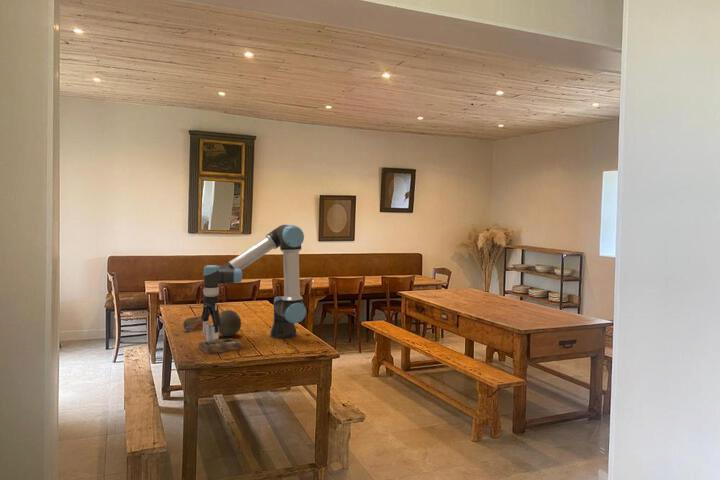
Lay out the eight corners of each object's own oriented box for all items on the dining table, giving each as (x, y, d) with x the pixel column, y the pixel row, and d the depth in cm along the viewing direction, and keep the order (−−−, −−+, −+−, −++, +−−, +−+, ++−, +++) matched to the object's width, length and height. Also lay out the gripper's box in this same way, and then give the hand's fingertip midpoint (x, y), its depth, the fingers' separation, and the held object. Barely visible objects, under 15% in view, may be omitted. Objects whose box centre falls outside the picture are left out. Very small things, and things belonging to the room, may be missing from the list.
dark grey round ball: (218, 333, 304) (218, 308, 304) (242, 333, 305) (243, 308, 304) (212, 339, 290) (213, 312, 289) (238, 339, 291) (238, 313, 290)
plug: (212, 347, 273) (212, 323, 272) (214, 349, 270) (215, 324, 269) (206, 348, 270) (206, 323, 270) (208, 350, 268) (208, 325, 267)
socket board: (231, 343, 282) (231, 337, 282) (241, 348, 272) (241, 342, 271) (198, 348, 271) (198, 341, 271) (208, 353, 261) (208, 347, 261)
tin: (185, 332, 305) (185, 318, 304) (182, 331, 307) (182, 317, 307) (208, 329, 316) (208, 315, 315) (205, 328, 318) (205, 314, 318)
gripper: (195, 292, 276) (194, 332, 277) (213, 299, 257) (212, 341, 258) (208, 291, 281) (208, 330, 282) (227, 298, 261) (227, 340, 262)
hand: (210, 336), depth 270 cm, fingers open, 13 cm apart
